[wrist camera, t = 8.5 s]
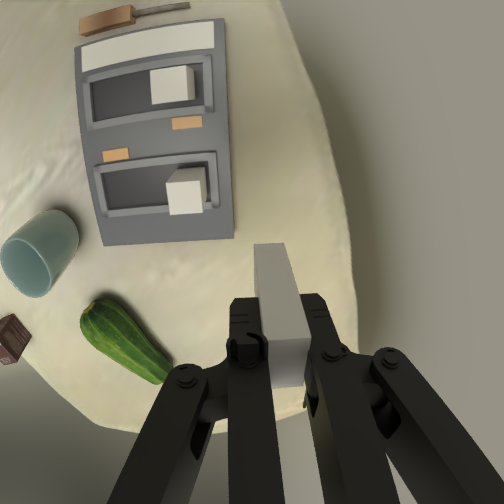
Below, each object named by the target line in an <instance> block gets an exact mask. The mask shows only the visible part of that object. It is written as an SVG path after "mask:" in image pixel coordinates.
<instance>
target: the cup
mask: <svg viewBox="0 0 504 504" xmlns="http://www.w3.org/2000/svg"><path fill="white" fill-rule="evenodd" d="M78 244H79V233H78V230H77V227H76V225H75V223H74V222H73V220H72V219H71V218H70V217H69V216H68V215H67V214H66V213H64V212H63V211H60V210H55V209H53V210H47V211H45V212H42V213H40V214H38V215H36V216H35V217H33V218H32V219H30V220H29V221H28V222H27V223H25V224H24V225H23V226H22V227H20V228H19V229H18V230H17V231H16V232H15V233H13V234H12V235H11V236H10V237H9V238H8V239H7V240H6V241H5V243H4V244H3V246H2V248H1V253H0V261H1V265H2V268H3V270H4V273H5V274H6V276H7V278H8V279H9V281H10V282H11V283H12V284H13V285H14V287H15V288H17V289H18V290H19V291H20V292H21V293H23V294H24V295H26V296H29V297H32V298H38V297H42V296H44V295H46V294H47V293H48V292H49V291H50V290H51V289H52V287H53V286H54V285H55V283H56V282H57V281H58V279H59V278H60V277H61V275H62V274H63V272H64V271H65V269H66V268H67V267H68V265H69V264H70V262H71V260H72V259H73V257H74V255H75V253H76V250H77V248H78Z"/></svg>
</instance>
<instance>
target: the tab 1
mask: <svg viewBox="0 0 504 504" xmlns="http://www.w3.org/2000/svg"><path fill="white" fill-rule="evenodd" d="M150 82H151V98H152V105H153V104H160V103H167V102H175V101H184V100H193V99H195V80H194V70H193V69H191V68H190V67H188V66H186V65H185V66H177V67H170V68H163V69H157V70H151V71H150Z"/></svg>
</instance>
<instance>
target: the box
mask: <svg viewBox="0 0 504 504" xmlns="http://www.w3.org/2000/svg"><path fill="white" fill-rule="evenodd" d="M31 337H32V335H31V334H30V333H29V332H28V330H27V329H26V328H25V327H24V326H23V325H22V323H21V322H20V321H19V319H18V318H17V317H16V316H15V314H11V315H9V316H7V317H5V318H2V319H0V361H1V363H2V364H4V365H7V364H12V363H17V362H18V360H19V358H20V356H21V354H22V353H23V351H24V349H25V347H26V346H27V344H28V342H29V340H30V339H31Z"/></svg>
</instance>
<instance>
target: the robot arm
mask: <svg viewBox="0 0 504 504" xmlns="http://www.w3.org/2000/svg"><path fill="white" fill-rule="evenodd" d="M254 290H255V297H252V298H235V299H234V300H233V302H232V303H231V305H230V321H229V322H230V324H229V338H228V339H227V343H226V350H227V357H226V359H225V360H224V361H223V362H221V363H220V364H218V365H216V366H213V367H210V368H206V369H202V368H201V367H200V366H197V365H195V364H182V365H178V366H176V367H175V368H173V369H172V370H171V371H170V372H169V374H168V375H167V377H166V379H165V381H164V383H163V385H162V387H161V389H160V391H159V393H158V396H157V398H156V400H155V402H154V404H153V406H152V408H151V410H150V412H149V414H148V416H147V418H146V420H145V422H144V425H143V427H142V429H141V431H140V433H139V435H138V437H137V439H136V441H135V443H134V446H133V448H132V450H131V452H130V454H129V456H128V459H127V461H126V463H125V465H124V467H123V469H122V471H121V473H120V476H119V478H118V480H117V482H116V484H115V486H114V489H113V491H112V493H111V495H110V498H109V500H108V502H107V504H188V503H189V500H190V497H191V494H192V491H193V488H194V485H195V482H196V479H197V476H198V473H199V470H200V467H201V464H202V461H203V458H204V455H205V452H206V449H207V445H208V443H209V440H210V437H211V434H212V431H213V427H214V424H215V421H218V420H222V419H225V418H228V472H229V473H228V475H229V504H285V498H284V490H283V482H282V473H281V464H280V456H279V447H278V439H277V430H276V423H275V413H274V405H273V397H272V389H274V388H287V387H298V386H303V383H304V379H305V384H306V393H305V397H304V402H303V408H306V405H307V410H308V415H309V420H310V425H311V431H312V436H313V441H314V447H315V451H316V457H317V463H318V468H319V474H320V479H321V485H322V490H323V497H324V503H325V504H400V502H399V498H398V494H397V490H396V486H395V483H394V480H393V476H392V473H391V470H390V466H389V463H388V459H387V456H386V454H387V455H388V457H389V459H390V460H391V462H392V463H393V465H394V467H395V468H396V470H397V471H398V473H399V475H400V476H401V477H402V479H403V481H404V482H405V484H406V486H407V487H408V489H409V490H410V492H411V494H412V495H413V497H414V498H415V500H416V501H417V503H418V504H504V482H503V480H502V479H501V477H500V476H499V474H498V473H497V472H496V470H495V469H494V467H493V466H492V464H491V463H490V462H489V460H488V459H487V458H486V456H485V455H484V453H483V452H482V451H481V450H480V448H479V447H478V445H477V444H476V443H475V442H474V440H473V439H472V437H471V436H470V435H469V434H468V432H467V431H466V430H465V428H464V427H463V426H462V424H461V423H460V422H459V421H458V419H457V418H456V417H455V416H454V414H453V413H452V412H451V411H450V409H449V408H448V407H447V405H446V404H445V403H444V402H443V400H442V399H441V398H440V397H439V396H438V394H437V393H436V392H435V390H434V389H433V388H432V387H431V386H430V384H429V383H428V382H427V381H426V380H425V378H424V377H423V376H422V375H421V374H420V372H419V371H418V370H417V369H416V368H415V366H414V365H413V364H412V363H411V362H410V360H409V359H408V358H407V357H406V356H405V355H404V354H403V353H402V352H401V351H400V350H397V349H395V348H390V347H386V348H381V349H379V350H378V351H376V353H375V354H374V356H369V355H361V354H356V353H353V352H351V351H350V350H349V349H348V347H347V346H346V345H344V344H343V343H341V342H340V339H339V337H338V334H337V331H336V329H335V326H334V323H333V321H332V318H331V317H330V313H329V310H328V307H327V305H326V302H325V300H324V299H323V298H322V297H321V296H320V295H319V294H318V293H312V294H299V292H298V288H297V285H296V282H295V278H294V275H293V271H292V268H291V265H290V261H289V258H288V255H287V252H286V248H285V245H284V243H269V244H254ZM385 452H386V453H385Z"/></svg>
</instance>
